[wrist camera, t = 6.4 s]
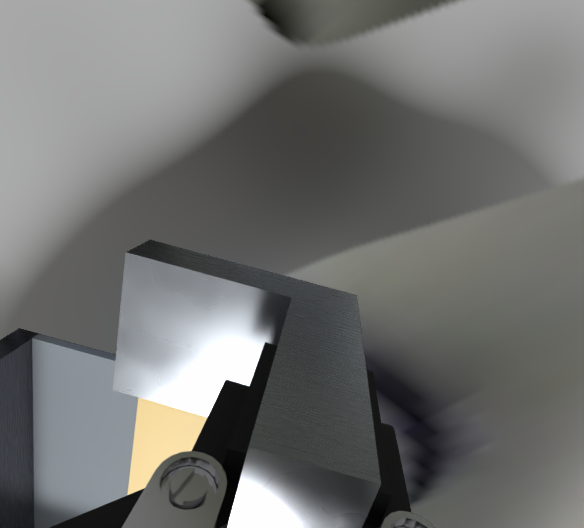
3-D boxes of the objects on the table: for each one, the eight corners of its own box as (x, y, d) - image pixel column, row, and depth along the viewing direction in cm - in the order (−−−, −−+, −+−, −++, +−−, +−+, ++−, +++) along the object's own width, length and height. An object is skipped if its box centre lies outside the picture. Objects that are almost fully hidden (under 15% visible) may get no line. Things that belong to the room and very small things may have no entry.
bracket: (356, 295, 12) (381, 484, 5) (316, 415, 14) (298, 673, 7) (150, 239, 12) (-70, 355, 6) (135, 364, 14) (-48, 567, 7)
